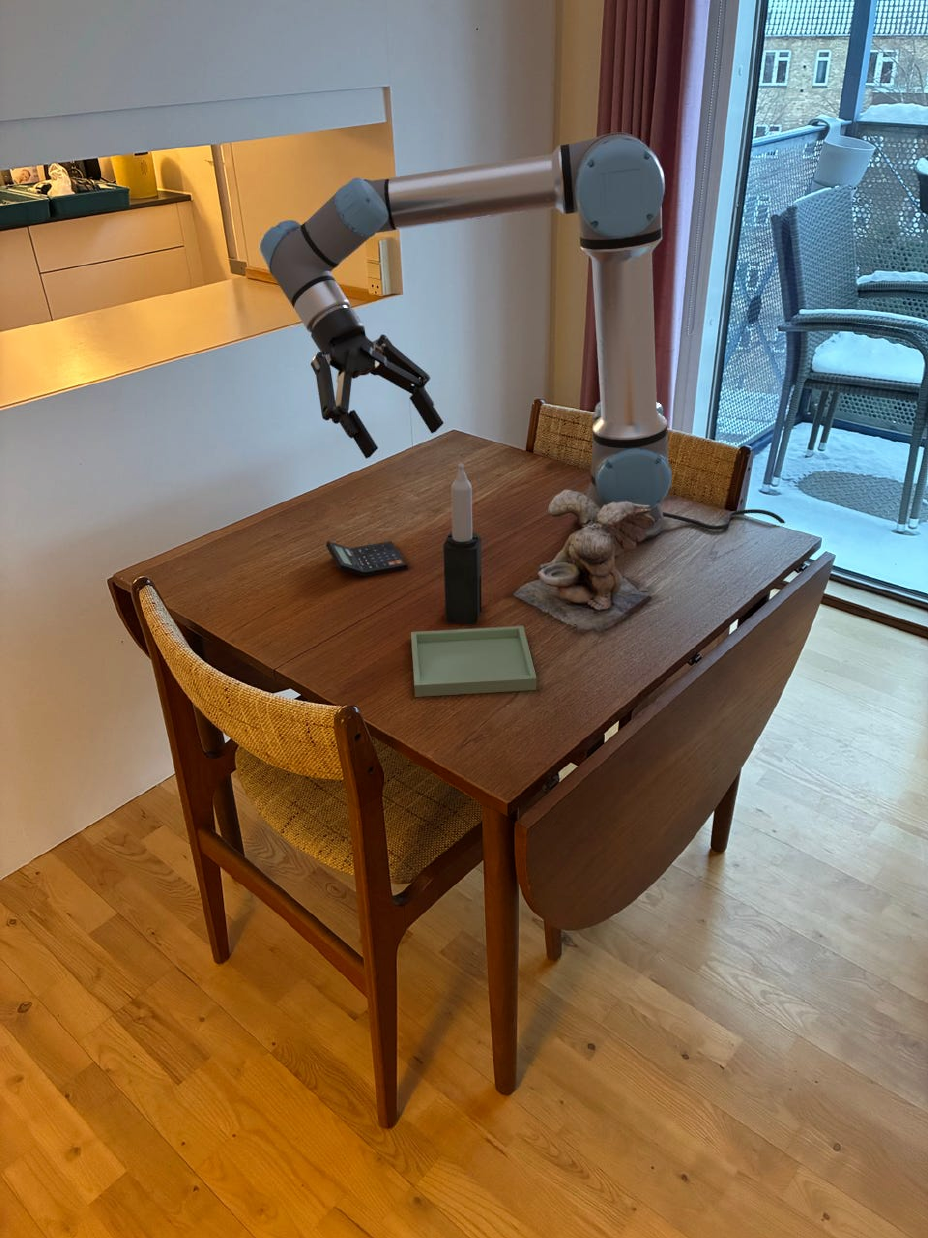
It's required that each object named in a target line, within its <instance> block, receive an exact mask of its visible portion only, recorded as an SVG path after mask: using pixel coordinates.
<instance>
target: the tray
mask: <svg viewBox="0 0 928 1238" xmlns="http://www.w3.org/2000/svg"><path fill="white" fill-rule="evenodd" d="M410 641H411V656H412V671H413V672H412V673H413V687H414V688H413V689H414V697H415V698H423V697H438V696H439V697H440V696H456V695H458V696H459V695H473V694H489V693H490V694H492V693H509V692H524V691H536V690H537V682H538V681H537V680H538V678H537V674H536V671H535V666H534V663H533V658H532V655H531V650H530V647H529V643H528V638H527V635H526V631H525V627H524V625H515V626H498V627H497V626H495V627H477V628H459V629H440V630H426V631H425V630H424V631H423V630H422V631H411V632H410Z"/></svg>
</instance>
